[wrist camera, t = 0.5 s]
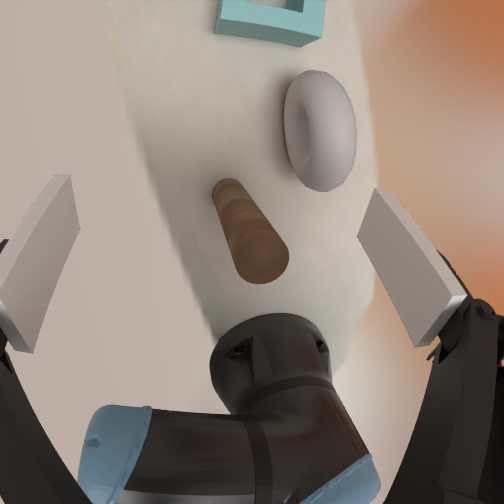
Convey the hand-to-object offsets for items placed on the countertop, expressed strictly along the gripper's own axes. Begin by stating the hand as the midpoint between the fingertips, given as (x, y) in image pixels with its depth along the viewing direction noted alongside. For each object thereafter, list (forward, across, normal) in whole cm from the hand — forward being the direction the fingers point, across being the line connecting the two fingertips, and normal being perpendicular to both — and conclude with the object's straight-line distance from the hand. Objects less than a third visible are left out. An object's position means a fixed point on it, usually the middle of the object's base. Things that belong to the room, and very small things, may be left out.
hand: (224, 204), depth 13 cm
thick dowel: (+15, -2, +8) cm, 17 cm away
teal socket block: (+20, -3, -10) cm, 23 cm away
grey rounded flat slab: (+17, -8, +2) cm, 19 cm away
